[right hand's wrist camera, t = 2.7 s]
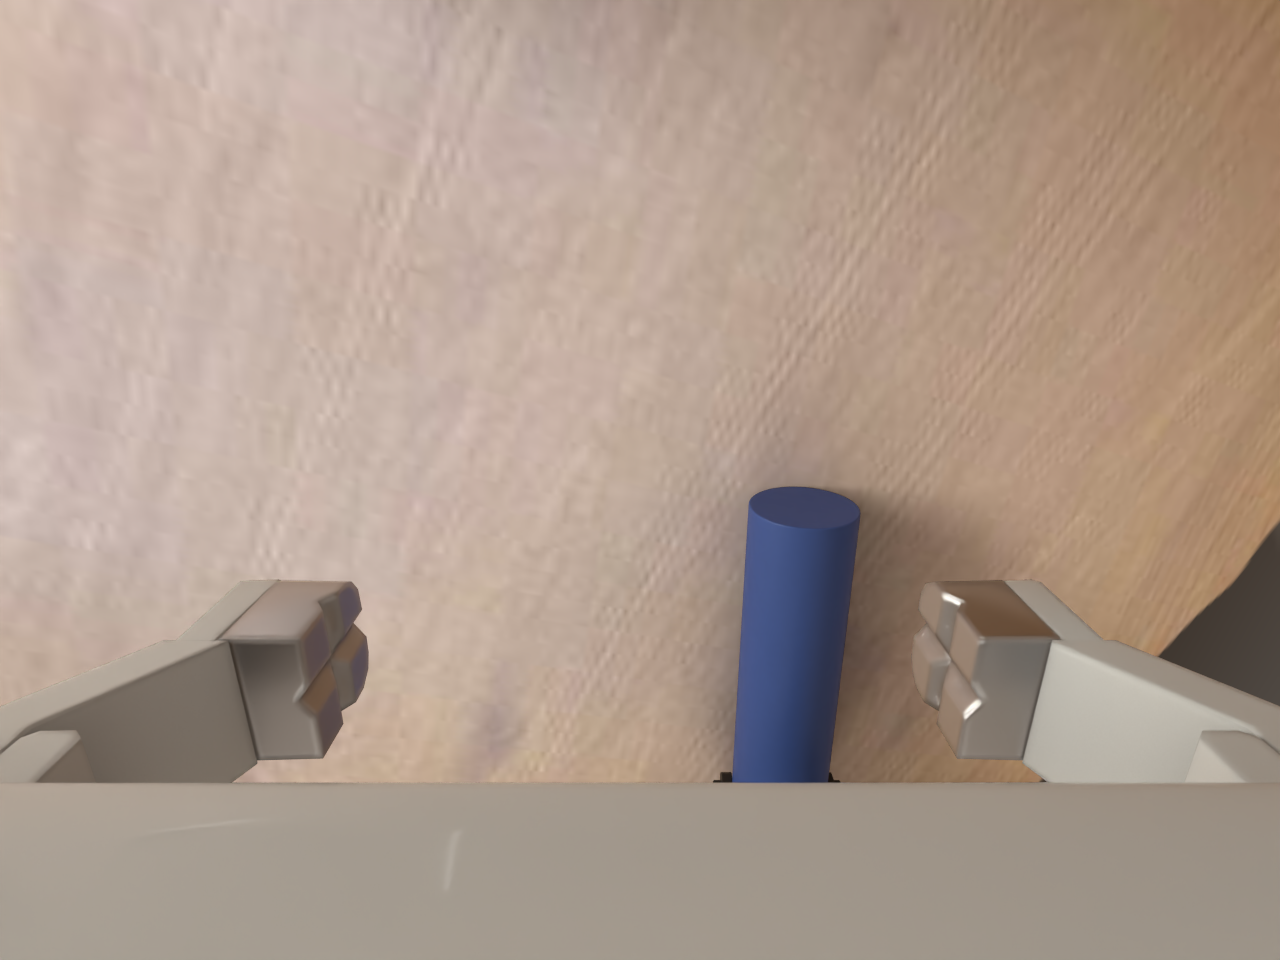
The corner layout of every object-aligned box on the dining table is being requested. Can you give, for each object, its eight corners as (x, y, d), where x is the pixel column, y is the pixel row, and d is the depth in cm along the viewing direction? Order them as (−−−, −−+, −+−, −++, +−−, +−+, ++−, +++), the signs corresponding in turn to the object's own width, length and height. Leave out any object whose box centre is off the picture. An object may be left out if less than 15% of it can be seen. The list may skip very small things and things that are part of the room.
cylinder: (742, 486, 42) (757, 528, 37) (843, 486, 42) (875, 529, 37) (724, 804, 51) (734, 878, 45) (808, 804, 51) (829, 878, 45)
